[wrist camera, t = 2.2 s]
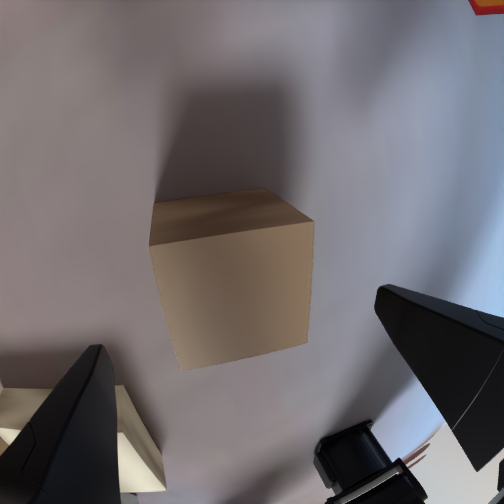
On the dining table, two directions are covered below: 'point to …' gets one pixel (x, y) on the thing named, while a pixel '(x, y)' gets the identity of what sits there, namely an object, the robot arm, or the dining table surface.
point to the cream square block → (128, 430)
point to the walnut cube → (232, 275)
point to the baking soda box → (487, 6)
